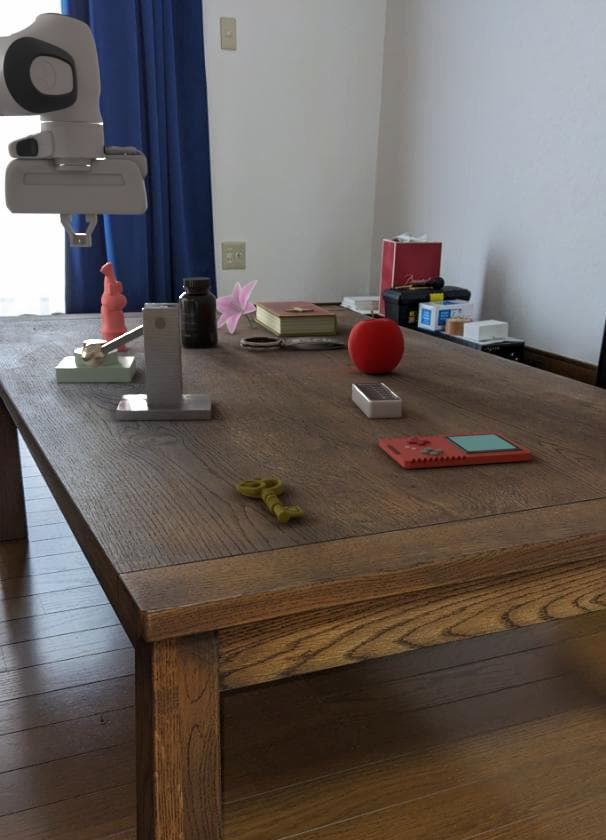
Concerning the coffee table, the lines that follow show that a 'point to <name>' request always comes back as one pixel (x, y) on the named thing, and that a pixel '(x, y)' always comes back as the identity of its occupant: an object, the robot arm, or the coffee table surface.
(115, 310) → the figurine
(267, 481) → the key
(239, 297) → the lily
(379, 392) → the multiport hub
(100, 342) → the button
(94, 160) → the robot arm
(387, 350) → the fruit
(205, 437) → the coffee table surface
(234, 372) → the coffee table surface
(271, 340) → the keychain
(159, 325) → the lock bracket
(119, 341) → the lock lever
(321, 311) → the book
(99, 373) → the box
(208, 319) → the supplement bottle
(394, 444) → the handheld gaming console
